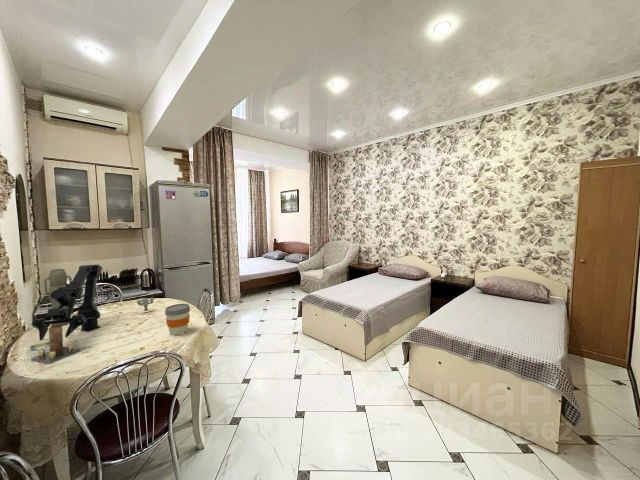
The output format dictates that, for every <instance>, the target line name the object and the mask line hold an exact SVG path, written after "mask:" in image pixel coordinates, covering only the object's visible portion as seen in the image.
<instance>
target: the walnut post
mask: <svg viewBox="0 0 640 480" xmlns="http://www.w3.org/2000/svg"><path fill="white" fill-rule="evenodd" d="M48 338H49V340H48V341H49V343H50V350H49V352H51V351H55V353H56V355H59V354H61V353H63V346H64V340H63V339H64V338H63V326H62V325H57V326H52V325H51V326H49V327H48Z"/></svg>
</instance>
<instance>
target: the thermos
mask: <svg viewBox="0 0 640 480" xmlns="http://www.w3.org/2000/svg"><path fill="white" fill-rule="evenodd" d="M48 280H49V288H48V287H47V286H48V285H47V284H48V283H47V281H48ZM68 280H69V281H68ZM72 280H73V277H71V276H70V275H67V271H66V270H65V269H63V268H57V269H52V270H50V272H49V274H48V277H46V278H45V279H44V280H43V281H44V293H45V295H46V296H48V297H49V299H50V300H49V301H50V309H55V308H58V307H59V304H58V303H56V302H55V301H54V300H53V299H52V298H51V297H50V294H51V293H52V292H53V291H55V290H57V289H58V288H59V287H65V286H66V285H67V284H69V283H71V282H72ZM67 281H68V282H69V283H68V282H67ZM70 318H72V315H71V316H70ZM50 320H53V319H51V318H50ZM69 324H70V322H68V323H59V324H51V327H52V326H57V325H62V327H63V326H66V325H69Z"/></svg>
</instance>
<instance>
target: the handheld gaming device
mask: <svg viewBox="0 0 640 480" xmlns="http://www.w3.org/2000/svg"><path fill="white" fill-rule="evenodd" d="M42 349H45V352H49V351H50V343H49V340H46V341H43V342H42V341H40V342H38V343H33V344H28V346H27V350H26V356H27V355H28V356H31V355H32V354H33V355H36V354H39V350H42Z"/></svg>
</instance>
